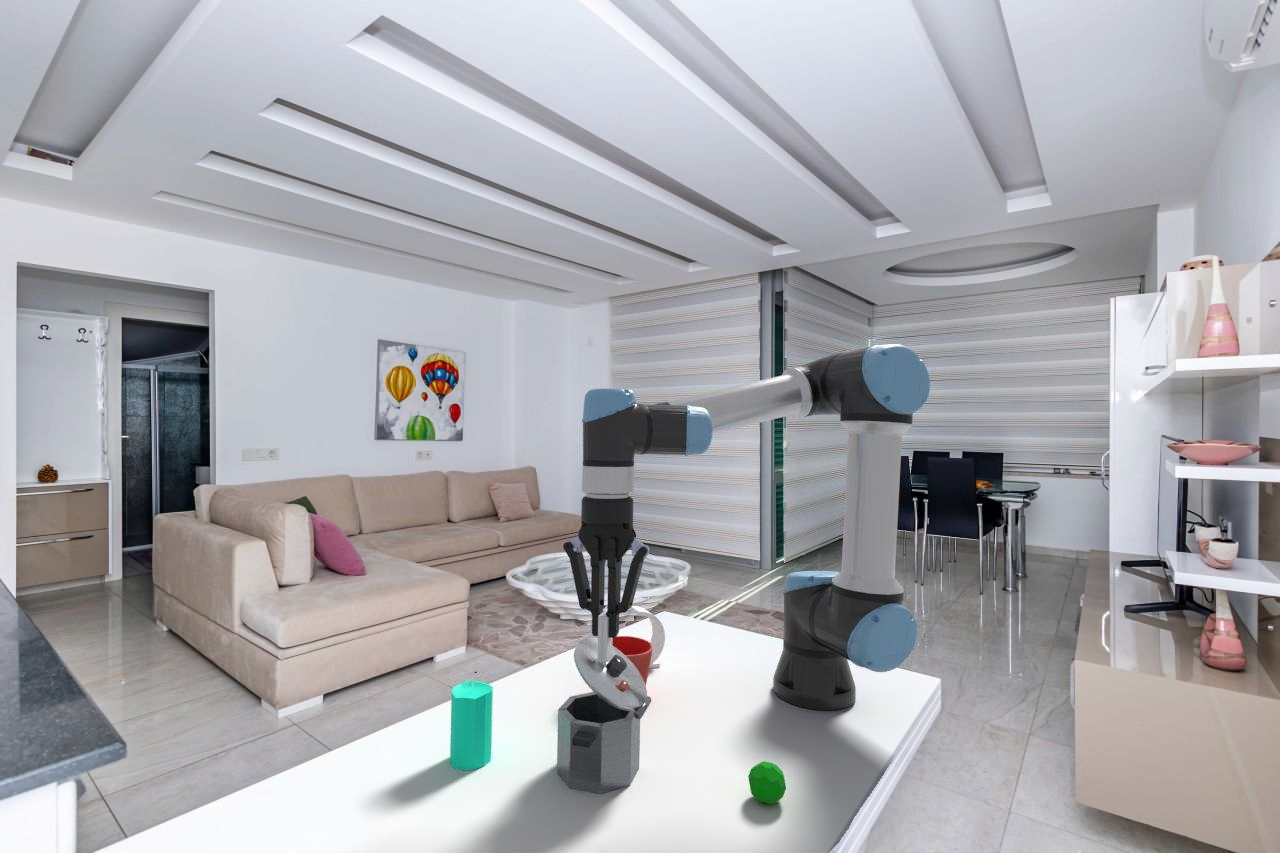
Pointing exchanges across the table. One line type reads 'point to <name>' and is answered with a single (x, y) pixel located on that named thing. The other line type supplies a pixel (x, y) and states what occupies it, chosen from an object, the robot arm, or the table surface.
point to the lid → (612, 678)
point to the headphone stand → (653, 635)
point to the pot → (596, 744)
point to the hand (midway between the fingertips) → (604, 658)
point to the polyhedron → (767, 782)
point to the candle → (471, 725)
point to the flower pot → (635, 652)
